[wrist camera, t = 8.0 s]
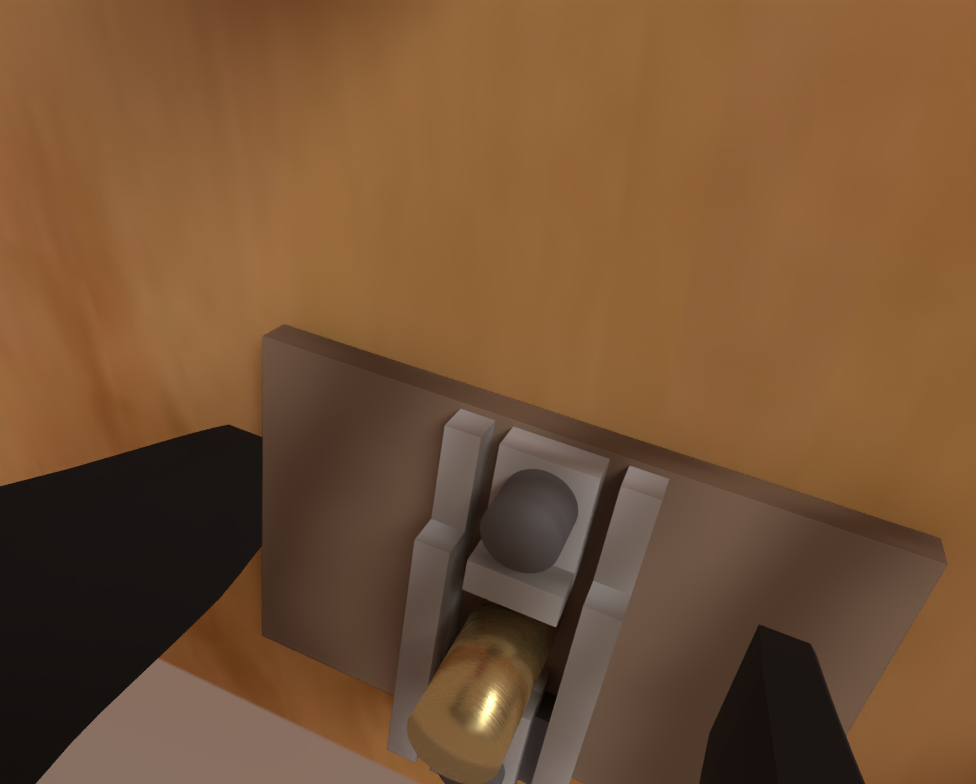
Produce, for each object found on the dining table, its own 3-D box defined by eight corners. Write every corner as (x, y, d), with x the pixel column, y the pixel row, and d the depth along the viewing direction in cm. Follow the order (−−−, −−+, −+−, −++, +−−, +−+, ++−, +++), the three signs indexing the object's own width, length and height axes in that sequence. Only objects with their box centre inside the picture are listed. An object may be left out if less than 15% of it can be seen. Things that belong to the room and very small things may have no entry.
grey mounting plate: (940, 538, 17) (968, 641, 14) (769, 837, 23) (763, 954, 20) (283, 324, 22) (201, 368, 19) (278, 617, 27) (214, 686, 24)
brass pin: (577, 631, 21) (519, 779, 17) (510, 647, 22) (440, 788, 18) (535, 564, 20) (465, 698, 16) (469, 584, 22) (388, 713, 18)
